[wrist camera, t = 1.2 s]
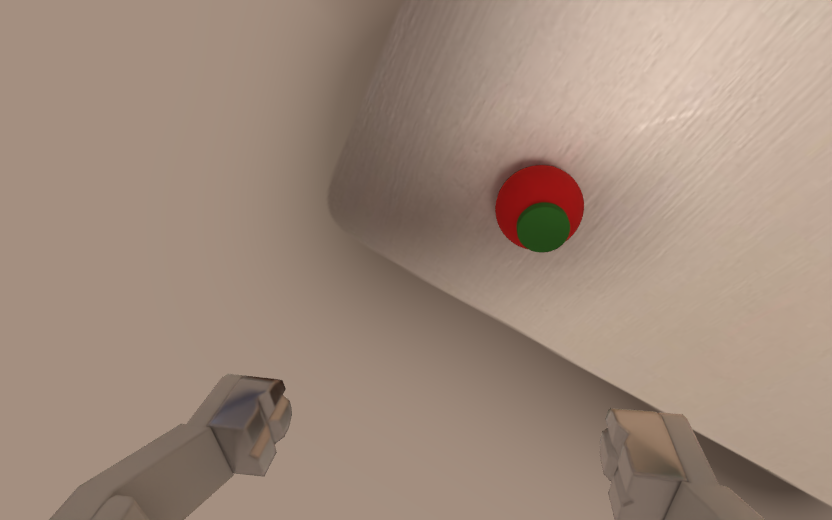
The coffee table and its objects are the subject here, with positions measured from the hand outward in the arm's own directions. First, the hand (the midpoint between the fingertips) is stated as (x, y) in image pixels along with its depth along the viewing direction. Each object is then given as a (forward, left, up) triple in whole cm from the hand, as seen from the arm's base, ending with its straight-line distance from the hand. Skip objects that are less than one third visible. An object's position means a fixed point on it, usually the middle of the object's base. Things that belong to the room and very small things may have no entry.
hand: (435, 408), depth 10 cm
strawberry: (+3, +2, -16) cm, 16 cm away
